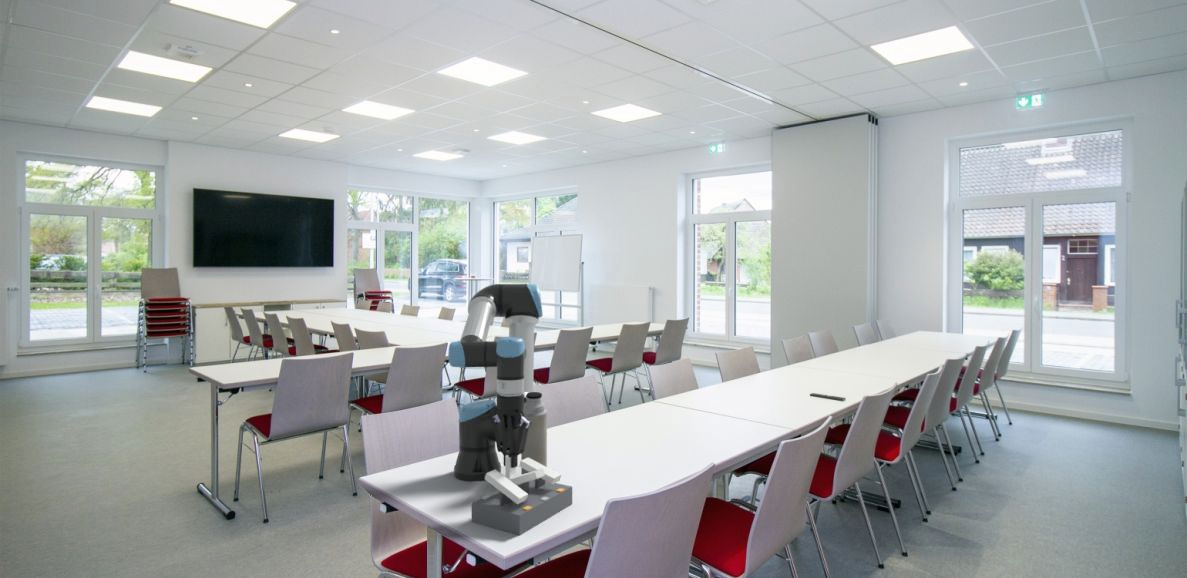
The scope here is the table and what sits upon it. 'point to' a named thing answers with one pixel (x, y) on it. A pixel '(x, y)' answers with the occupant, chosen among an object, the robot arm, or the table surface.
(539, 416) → the thermos bottle
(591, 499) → the table surface
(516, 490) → the rocker
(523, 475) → the rocker
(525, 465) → the rocker
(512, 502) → the console
